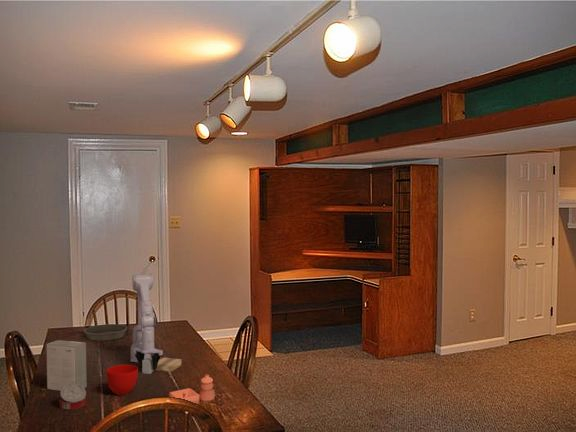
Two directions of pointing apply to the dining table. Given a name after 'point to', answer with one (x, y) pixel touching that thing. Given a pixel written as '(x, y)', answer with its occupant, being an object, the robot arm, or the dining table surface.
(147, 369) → the gray block
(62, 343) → the hard drive box
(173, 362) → the maple pedestal
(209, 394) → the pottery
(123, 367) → the ceramic cup
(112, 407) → the dining table surface
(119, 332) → the cake pan
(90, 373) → the dining table surface
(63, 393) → the canned food
